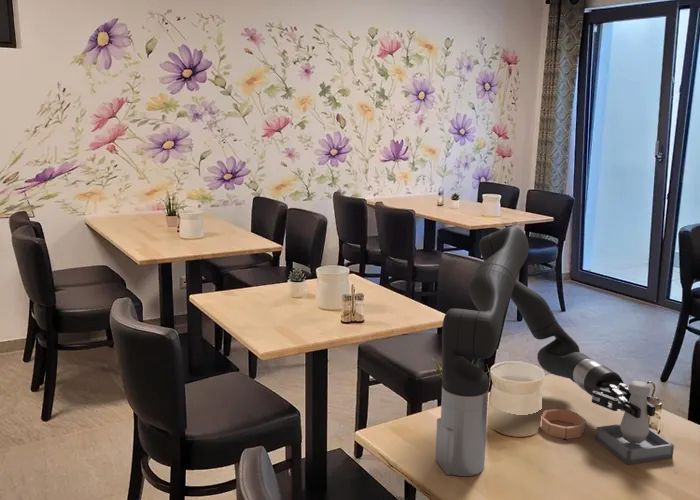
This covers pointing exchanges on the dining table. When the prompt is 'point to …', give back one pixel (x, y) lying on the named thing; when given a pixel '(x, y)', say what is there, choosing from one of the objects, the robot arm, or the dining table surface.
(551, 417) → the collar
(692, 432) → the dining table surface
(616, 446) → the tray
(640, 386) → the salt shaker
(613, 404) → the robot arm
